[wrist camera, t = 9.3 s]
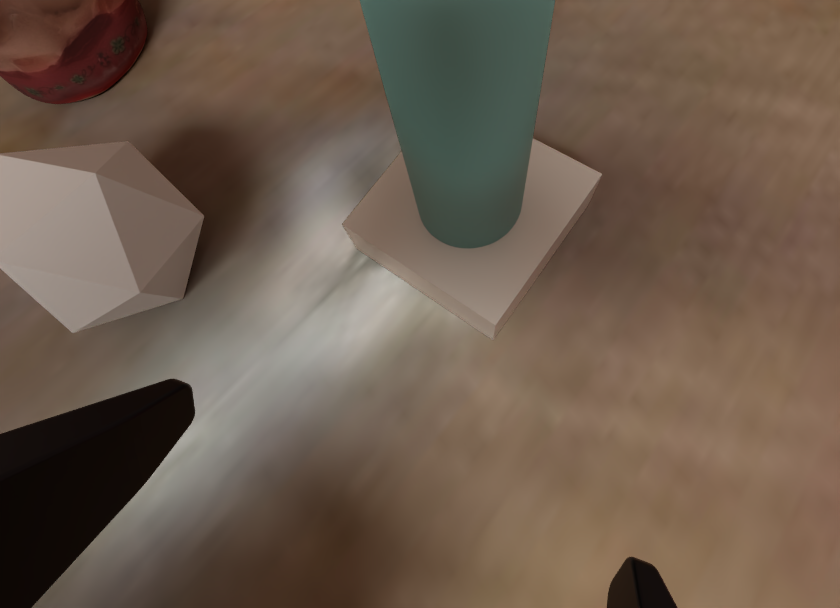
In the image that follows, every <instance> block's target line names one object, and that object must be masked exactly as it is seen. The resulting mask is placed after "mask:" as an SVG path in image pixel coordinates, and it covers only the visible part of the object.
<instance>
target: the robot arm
mask: <svg viewBox="0 0 840 608" xmlns="http://www.w3.org/2000/svg"><path fill="white" fill-rule="evenodd" d="M194 416H195V407H194V399H193V392H192V387H191V386H190V385H189V384H187V383H185V382H182V381H180V380H177V379H168V380H165V381H162V382H159V383H156V384H153V385H149V386H146V387H143V388H140V389H137V390H134V391H131V392H128V393H125V394H122V395H119V396H116V397H113V398H110V399H106V400H103V401H100V402H97V403H94V404H91V405H88V406H85V407H82V408H79V409H76V410H73V411H70V412H66V413H63V414H60V415H57V416H54V417H51V418H48V419H45V420H42V421H39V422H36V423H33V424H30V425H26V426H23V427H20V428H17V429H14V430H11V431H8V432H5V433H2V434H0V608H31V607H32V606H33V605H34V604H35V603H36V602H37V601H38V600H39V599H40V598H41V597H42V595H43V594H44V593H45V592H46V591H47V590H48V589H49V588H50V587H51V586H52V585H53V583H54V582H55V581H56V580H57V579H58V578H59V577H60V576H61V575H62V574H63V573H64V572H65V570H66V569H67V568H68V567H69V566H70V565H71V564H72V563H73V562H74V561H75V560H76V558H77V557H78V556H79V555H80V554H81V553H82V552H83V551H84V550H85V549H86V548H87V547H88V545H89V544H90V543H91V542H92V541H93V540H94V539H95V538H96V537H97V536H98V535H99V533H100V532H101V531H102V530H103V529H104V528H105V527H106V526H107V525H108V524H109V523H110V521H111V520H112V519H113V518H114V517H115V516H116V515H117V514H118V513H119V512H120V511H121V510H122V508H123V507H124V506H125V505H126V504H127V503H128V502H129V501H130V500H131V499H132V498H133V496H134V495H135V494H136V493H137V492H138V491H139V490H140V489H141V487H142V486H143V485H144V484H145V483H146V482H147V480H148V479H149V478H150V477H151V475H152V474H153V473H154V472H155V470H156V469H157V468H158V466H159V465H160V464H161V462H162V461H163V460H164V458H165V457H166V456H167V455H168V453H169V452H170V451H171V449H172V448H173V447H174V445H175V444H176V443H177V441H178V440H179V439H180V437H181V436H182V435H183V434H184V432H185V431H186V430H187V428H188V427H189V426H190V424H191V423H192V421H193V419H194ZM607 608H677V606H676V604H675V602H674V600H673V598H672V596H671V595H670V593H669V591H668V589H667V587H666V585H665V583H664V581H663V579H662V578H661V576H660V574H659V572H658V570H657V569H656V568H655V567H654V566H653V565H652V564H650V563H648V562H645V561H642V560H640V559H637V558H635V557H629V558H627V559H626V560H625V562H624V563H623V565H622V566H621V568H620V569H619V571H618V572H617V574H616V575H615V577H614V578H613V580H612V582H611V584H610V587H609V592H608V600H607Z"/></svg>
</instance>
